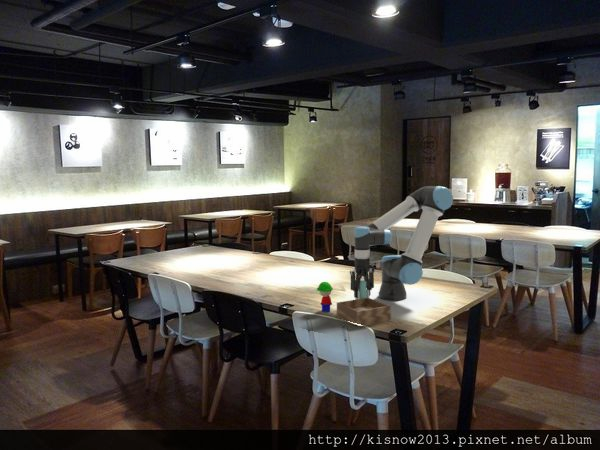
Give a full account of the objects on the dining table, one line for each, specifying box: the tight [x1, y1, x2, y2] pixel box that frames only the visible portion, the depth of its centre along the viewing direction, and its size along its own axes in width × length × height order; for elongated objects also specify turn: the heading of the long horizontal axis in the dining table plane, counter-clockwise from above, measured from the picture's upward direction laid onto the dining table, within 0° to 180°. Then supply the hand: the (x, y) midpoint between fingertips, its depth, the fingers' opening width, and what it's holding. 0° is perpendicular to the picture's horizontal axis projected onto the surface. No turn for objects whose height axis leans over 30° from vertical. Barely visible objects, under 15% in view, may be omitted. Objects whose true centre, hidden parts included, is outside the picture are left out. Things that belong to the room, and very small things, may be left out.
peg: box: [358, 279, 367, 299], centre depth 249 cm, size 4×4×14 cm
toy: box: [316, 281, 334, 313], centre depth 245 cm, size 8×8×15 cm
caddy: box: [336, 297, 392, 327], centre depth 232 cm, size 18×18×7 cm
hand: (362, 302), depth 250 cm, fingers open, 5 cm apart
